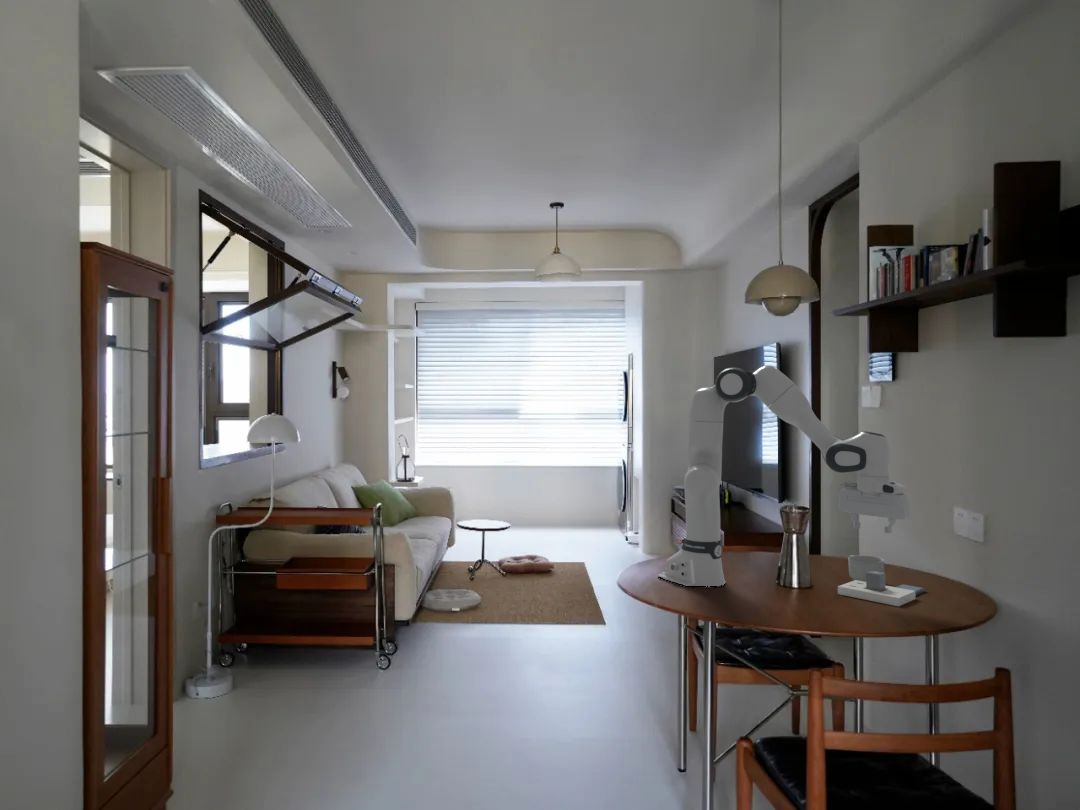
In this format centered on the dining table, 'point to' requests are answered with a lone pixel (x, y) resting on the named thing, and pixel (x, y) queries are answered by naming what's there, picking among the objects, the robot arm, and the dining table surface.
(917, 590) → the phone
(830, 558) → the dining table surface
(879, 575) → the block
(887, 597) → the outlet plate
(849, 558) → the grey rounded block
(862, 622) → the dining table surface
